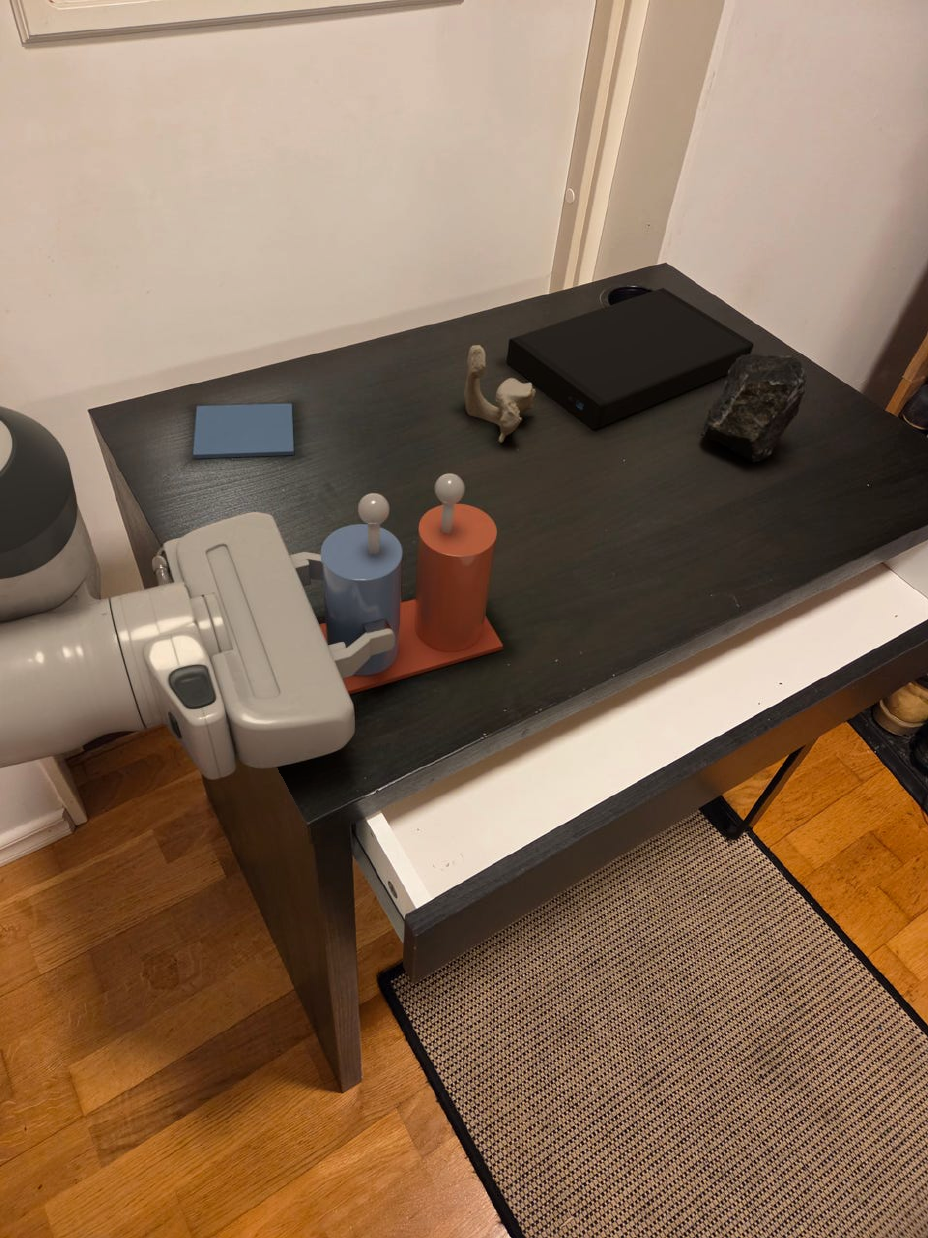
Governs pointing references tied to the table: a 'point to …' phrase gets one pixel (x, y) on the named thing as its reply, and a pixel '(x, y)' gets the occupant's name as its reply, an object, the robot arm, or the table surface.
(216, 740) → the robot arm
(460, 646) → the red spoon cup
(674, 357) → the external hard drive
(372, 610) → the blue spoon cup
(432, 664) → the red mat
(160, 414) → the table surface
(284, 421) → the blue mat
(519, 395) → the bone
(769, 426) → the rock
